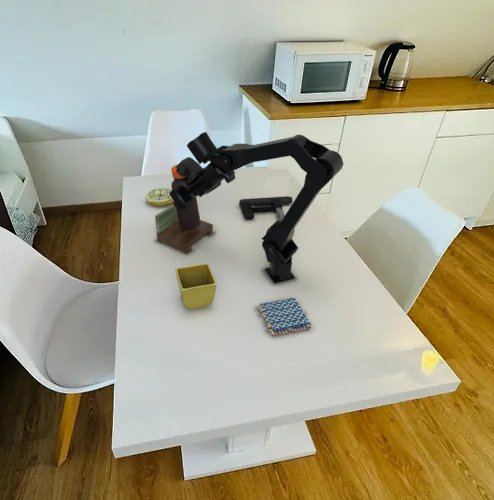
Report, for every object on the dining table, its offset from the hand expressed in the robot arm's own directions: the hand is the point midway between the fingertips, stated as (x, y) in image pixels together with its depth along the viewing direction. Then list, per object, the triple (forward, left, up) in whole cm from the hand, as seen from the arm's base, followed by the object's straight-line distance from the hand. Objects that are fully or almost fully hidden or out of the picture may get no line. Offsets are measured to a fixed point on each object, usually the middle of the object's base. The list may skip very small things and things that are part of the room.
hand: (181, 200), depth 119 cm
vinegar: (-1, -2, -8) cm, 9 cm away
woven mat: (-44, -14, -13) cm, 48 cm away
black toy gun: (+5, -33, -14) cm, 36 cm away
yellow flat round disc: (+26, +1, -13) cm, 29 cm away
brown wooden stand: (0, -1, -13) cm, 13 cm away
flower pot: (-31, +5, -13) cm, 34 cm away
